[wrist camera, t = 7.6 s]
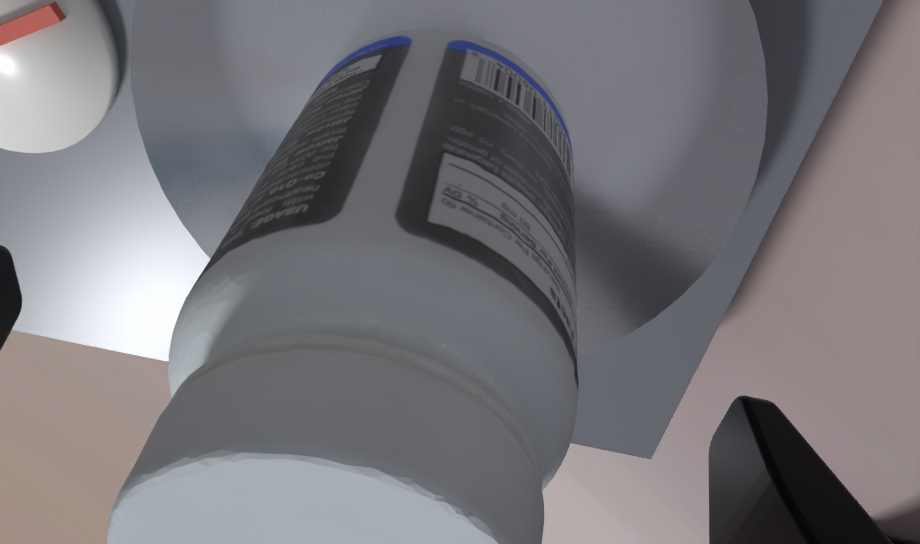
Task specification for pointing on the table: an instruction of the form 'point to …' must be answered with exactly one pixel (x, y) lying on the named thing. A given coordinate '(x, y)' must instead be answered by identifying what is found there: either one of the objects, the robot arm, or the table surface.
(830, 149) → the table surface
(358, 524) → the pill bottle
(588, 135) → the scale pan
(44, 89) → the scale
